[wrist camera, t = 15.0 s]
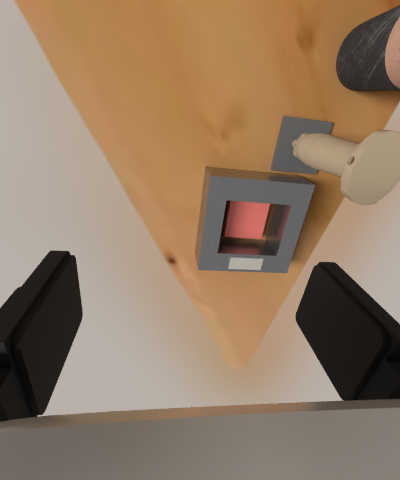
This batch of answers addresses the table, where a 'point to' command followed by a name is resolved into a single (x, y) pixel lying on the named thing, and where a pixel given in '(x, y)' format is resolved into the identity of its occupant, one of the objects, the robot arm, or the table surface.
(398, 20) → the travel mug
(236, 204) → the button
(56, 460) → the robot arm
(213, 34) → the table surface
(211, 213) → the grey shallow box
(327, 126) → the mat
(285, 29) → the table surface
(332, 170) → the handle
